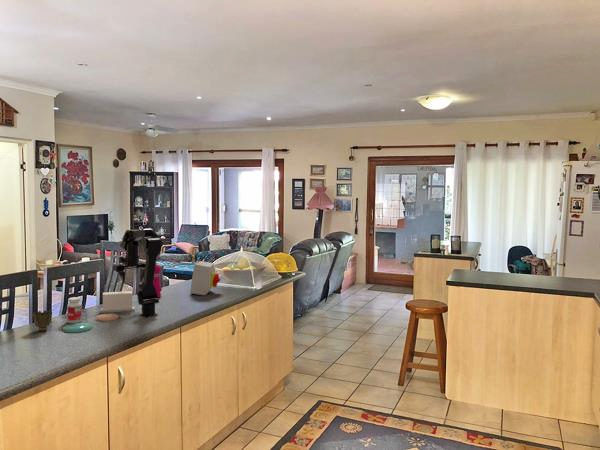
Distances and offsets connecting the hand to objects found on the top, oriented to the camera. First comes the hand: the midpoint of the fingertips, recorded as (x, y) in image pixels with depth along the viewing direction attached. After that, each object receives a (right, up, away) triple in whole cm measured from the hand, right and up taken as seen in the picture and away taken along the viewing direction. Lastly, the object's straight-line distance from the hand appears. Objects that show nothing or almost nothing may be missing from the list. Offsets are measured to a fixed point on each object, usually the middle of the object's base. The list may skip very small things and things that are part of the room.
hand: (132, 282), depth 256 cm
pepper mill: (+4, -11, +26) cm, 29 cm away
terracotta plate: (-4, -15, -22) cm, 27 cm away
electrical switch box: (+31, -11, +39) cm, 51 cm away
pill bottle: (-17, -15, -29) cm, 36 cm away
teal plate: (-10, -16, -40) cm, 44 cm away
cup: (-24, -16, -43) cm, 52 cm away
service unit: (-5, -13, -6) cm, 16 cm away
